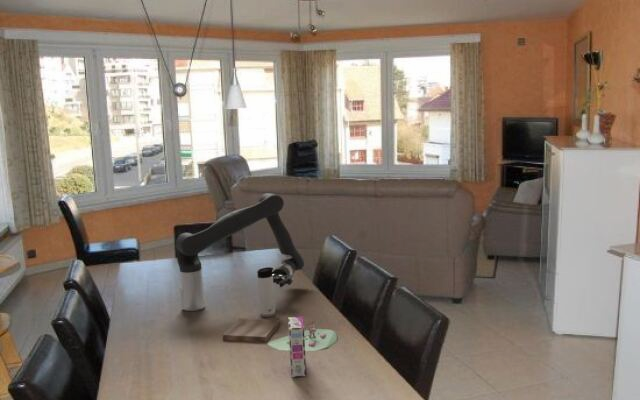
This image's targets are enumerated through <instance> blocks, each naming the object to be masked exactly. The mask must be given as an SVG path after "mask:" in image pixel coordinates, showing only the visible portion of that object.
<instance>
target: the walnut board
mask: <svg viewBox="0 0 640 400" xmlns="http://www.w3.org/2000/svg"><path fill="white" fill-rule="evenodd" d="M280 325H281V320H280V319H264V318H261V319H260V318H239V319H237V320H236V321H235V322H234V323H233V324H232V325H231V326H230V327H229V328H228V329H227V330H226V331H225V332H224V333H223V334H222V341H238V342H253V343H257V342H258V343H267V342H268V340H269V339H270V338H271V337H272V335H273V334H274V333H275V332H276V330H277V329H279V327H280Z"/></svg>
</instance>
